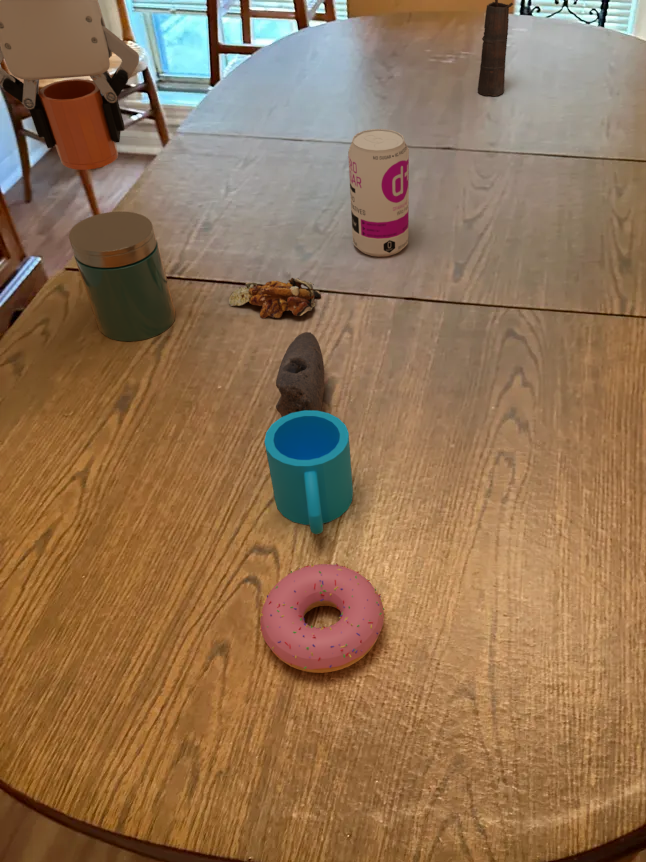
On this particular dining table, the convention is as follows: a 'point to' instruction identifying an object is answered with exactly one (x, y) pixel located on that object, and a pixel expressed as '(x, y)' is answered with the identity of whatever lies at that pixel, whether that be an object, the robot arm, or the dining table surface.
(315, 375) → the perforated stone tool
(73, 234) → the jar lid
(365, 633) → the doughnut
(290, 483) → the mug
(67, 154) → the cup
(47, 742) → the dining table surface
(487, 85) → the butter churn
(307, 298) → the brown lumpy piece
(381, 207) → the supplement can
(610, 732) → the dining table surface
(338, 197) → the dining table surface
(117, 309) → the jar
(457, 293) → the dining table surface
